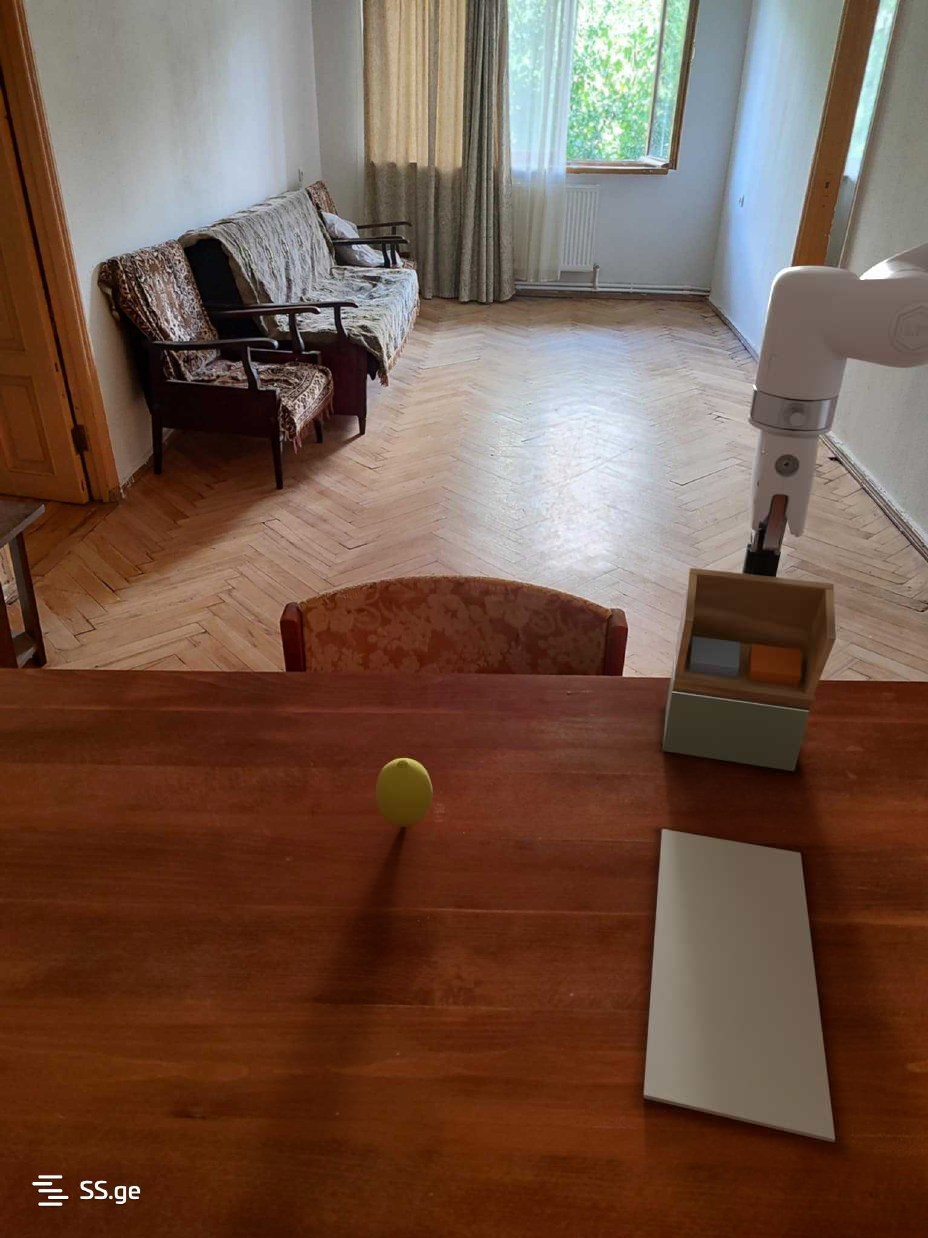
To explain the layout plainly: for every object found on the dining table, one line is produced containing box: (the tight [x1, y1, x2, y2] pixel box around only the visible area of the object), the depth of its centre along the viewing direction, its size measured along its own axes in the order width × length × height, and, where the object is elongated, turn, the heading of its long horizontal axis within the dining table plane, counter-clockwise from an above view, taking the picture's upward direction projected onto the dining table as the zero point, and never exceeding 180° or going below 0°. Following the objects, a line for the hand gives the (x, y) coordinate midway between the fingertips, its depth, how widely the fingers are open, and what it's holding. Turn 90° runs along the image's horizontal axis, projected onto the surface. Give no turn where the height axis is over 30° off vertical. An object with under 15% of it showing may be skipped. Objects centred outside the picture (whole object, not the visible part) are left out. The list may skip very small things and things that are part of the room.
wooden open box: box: [672, 567, 837, 712], centre depth 91 cm, size 8×14×11 cm, turn 76°
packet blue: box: [688, 636, 740, 679], centre depth 94 cm, size 4×5×2 cm
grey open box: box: [662, 653, 810, 772], centre depth 98 cm, size 8×14×8 cm, turn 76°
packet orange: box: [748, 644, 801, 687], centre depth 93 cm, size 4×5×2 cm
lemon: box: [374, 757, 433, 828], centre depth 86 cm, size 6×6×8 cm
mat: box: [643, 828, 836, 1143], centre depth 74 cm, size 28×13×1 cm, turn 166°
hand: (757, 582), depth 92 cm, fingers closed
